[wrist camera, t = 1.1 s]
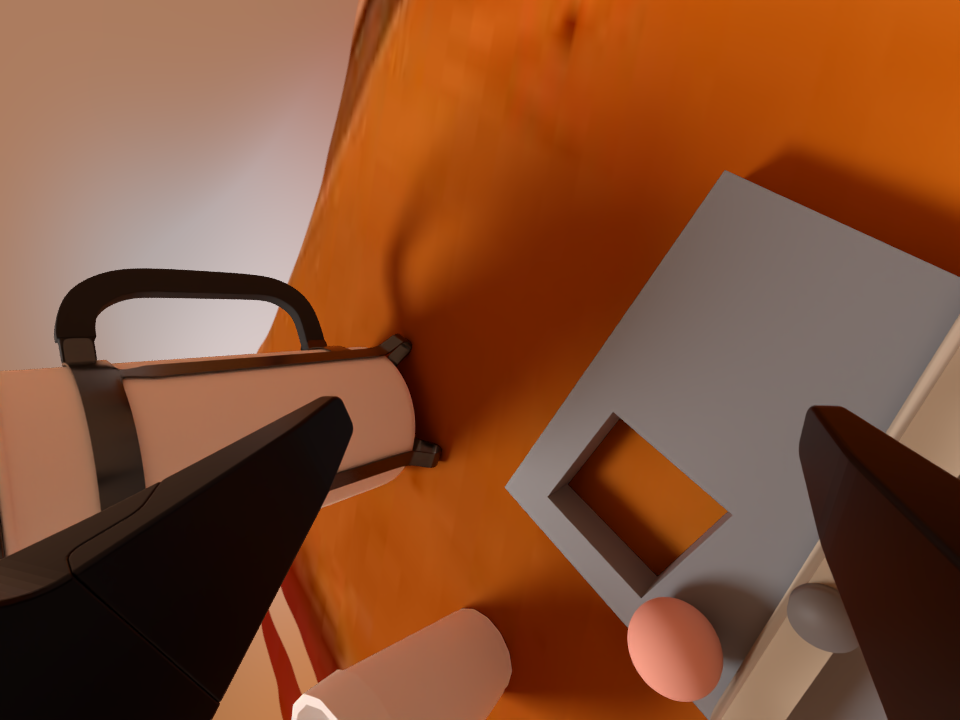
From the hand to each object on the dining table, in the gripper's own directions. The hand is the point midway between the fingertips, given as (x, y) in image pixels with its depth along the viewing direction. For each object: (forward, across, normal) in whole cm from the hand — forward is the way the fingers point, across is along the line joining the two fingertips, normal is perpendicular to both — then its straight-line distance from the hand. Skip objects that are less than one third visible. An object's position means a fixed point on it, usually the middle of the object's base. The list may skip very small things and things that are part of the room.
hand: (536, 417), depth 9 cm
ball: (+5, -3, +17) cm, 18 cm away
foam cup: (+8, +10, +31) cm, 34 cm away
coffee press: (+21, +20, +16) cm, 33 cm away
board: (+11, -7, +12) cm, 18 cm away
